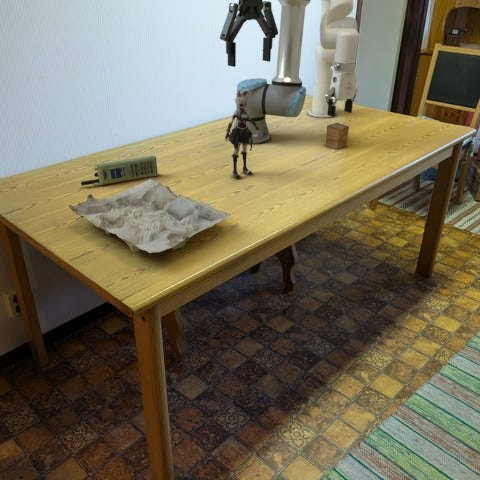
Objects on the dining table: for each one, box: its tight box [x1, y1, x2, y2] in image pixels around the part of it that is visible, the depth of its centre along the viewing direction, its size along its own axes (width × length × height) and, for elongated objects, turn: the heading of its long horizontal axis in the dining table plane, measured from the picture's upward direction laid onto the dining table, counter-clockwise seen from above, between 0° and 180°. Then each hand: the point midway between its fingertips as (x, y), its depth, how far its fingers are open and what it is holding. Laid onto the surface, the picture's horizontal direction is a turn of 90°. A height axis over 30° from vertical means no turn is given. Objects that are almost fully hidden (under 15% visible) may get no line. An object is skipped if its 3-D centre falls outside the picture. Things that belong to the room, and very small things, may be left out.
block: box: [324, 122, 350, 150], centre depth 198 cm, size 6×6×8 cm
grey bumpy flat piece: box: [68, 178, 232, 254], centre depth 138 cm, size 38×6×30 cm
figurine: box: [224, 86, 260, 179], centre depth 165 cm, size 15×6×30 cm, turn 132°
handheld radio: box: [80, 155, 159, 187], centre depth 164 cm, size 7×3×25 cm
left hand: (249, 63), depth 150 cm, fingers open, 13 cm apart
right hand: (339, 114), depth 193 cm, fingers open, 9 cm apart
